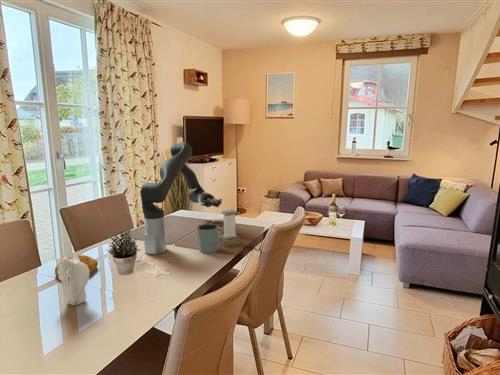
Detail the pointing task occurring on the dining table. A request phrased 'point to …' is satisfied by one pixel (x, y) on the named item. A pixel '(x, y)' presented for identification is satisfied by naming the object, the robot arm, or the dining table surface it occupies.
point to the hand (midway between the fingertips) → (217, 205)
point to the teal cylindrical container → (208, 238)
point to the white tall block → (229, 224)
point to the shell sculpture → (74, 279)
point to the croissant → (87, 260)
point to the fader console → (227, 241)
